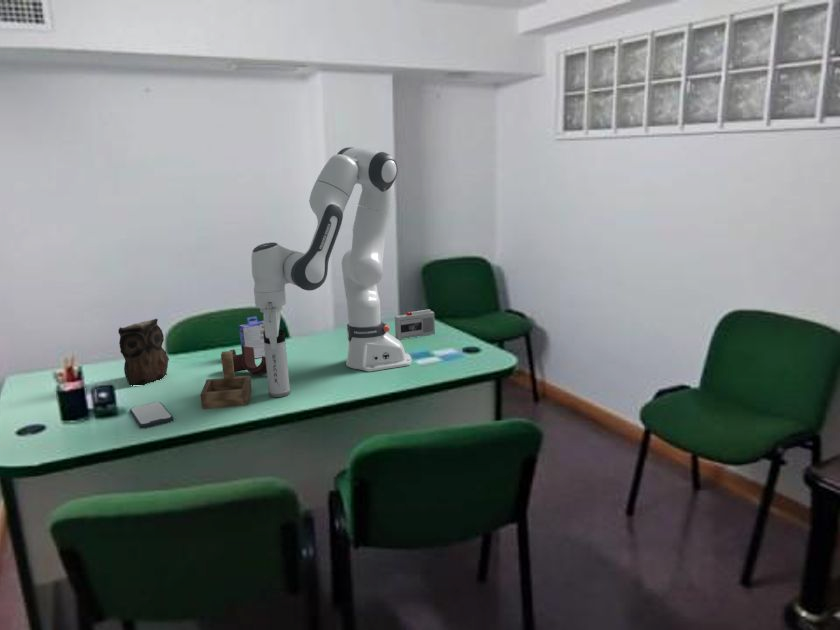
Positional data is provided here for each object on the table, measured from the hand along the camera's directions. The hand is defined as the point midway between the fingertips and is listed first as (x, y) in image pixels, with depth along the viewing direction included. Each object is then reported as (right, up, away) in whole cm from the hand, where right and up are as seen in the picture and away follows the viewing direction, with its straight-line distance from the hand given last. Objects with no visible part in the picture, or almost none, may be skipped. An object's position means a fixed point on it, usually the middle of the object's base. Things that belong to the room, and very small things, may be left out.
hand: (274, 344), depth 189 cm
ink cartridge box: (-16, -6, +41) cm, 45 cm away
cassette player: (+41, 0, +60) cm, 73 cm away
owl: (-48, -13, +21) cm, 54 cm away
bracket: (-13, -11, +24) cm, 29 cm away
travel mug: (0, -15, +4) cm, 16 cm away
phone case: (-33, -20, -10) cm, 40 cm away
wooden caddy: (-15, -16, +3) cm, 22 cm away
